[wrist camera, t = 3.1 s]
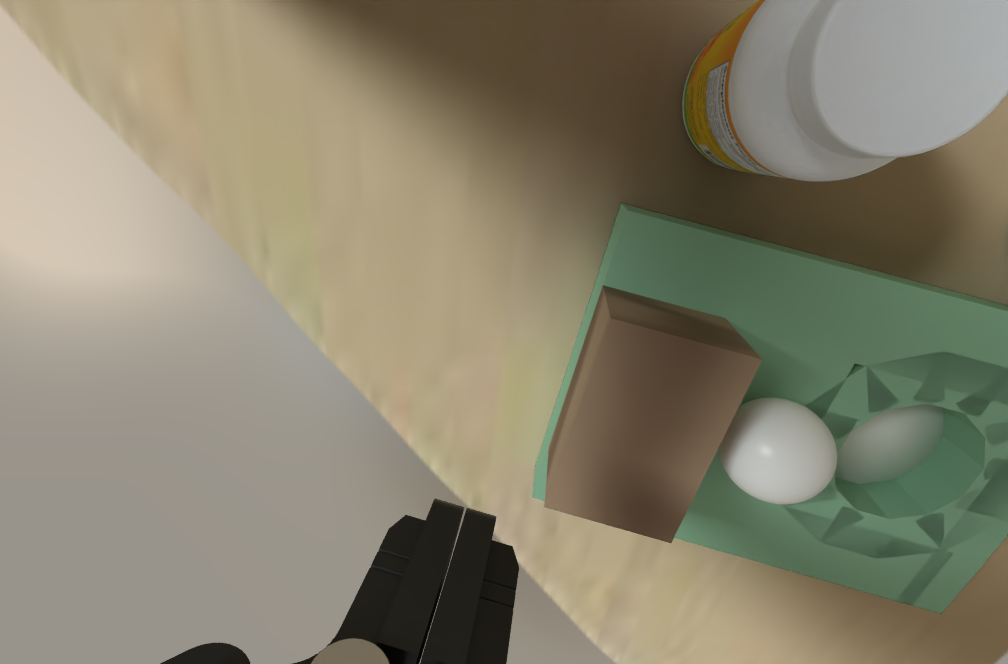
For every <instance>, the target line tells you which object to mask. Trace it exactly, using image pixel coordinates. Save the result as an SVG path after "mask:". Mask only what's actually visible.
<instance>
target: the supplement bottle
mask: <svg viewBox="0 0 1008 664" xmlns="http://www.w3.org/2000/svg"><path fill="white" fill-rule="evenodd" d="M1007 94H1008V0H759V1H758V2H757V3H755V4H754V5H753V6H751V7H750V8H749V9H747V10H746V11H745V12H744V13H742V14H741V15H740V16H738V17H737V18H736V19H734V20H733V21H732V22H731V23H729V24H728V25H727V26H725V27H724V28H723V29H722V30H721V31H719V32H718V33H717V34H716V35H715V36H714V37H713V38H712V39H711V40H710V41H709V42H708V43H707V44H706V45H705V47H704V48H703V49H702V51H701V52H700V53H699V55H698V56H697V58H696V59H695V61H694V63H693V65H692V67H691V69H690V71H689V74H688V76H687V79H686V83H685V87H684V92H683V101H682V112H683V120H684V125H685V128H686V131H687V134H688V136H689V138H690V140H691V141H692V143H693V144H694V146H695V147H696V148H697V150H698V151H699V152H700V153H701V154H702V155H703V156H704V157H706V158H707V159H708V160H710V161H711V162H713V163H715V164H717V165H719V166H722V167H724V168H727V169H730V170H735V171H740V172H746V173H753V174H760V175H768V176H774V177H781V178H787V179H792V180H799V181H810V182H812V181H819V182H824V181H836V180H843V179H848V178H852V177H856V176H859V175H862V174H865V173H868V172H871V171H873V170H875V169H877V168H880V167H882V166H884V165H886V164H888V163H889V162H891V161H893V160H895V159H896V158H898V157H907V156H912V155H917V154H921V153H924V152H928V151H931V150H933V149H936V148H938V147H941V146H943V145H945V144H948V143H949V142H951V141H953V140H955V139H957V138H959V137H960V136H962V135H964V134H965V133H966V132H968V131H969V130H971V129H972V128H973V127H975V126H976V125H977V124H979V123H980V122H981V121H982V120H983V119H984V118H986V117H987V116H988V115H989V114H990V113H991V112H992V111H993V110H994V109H995V108H996V107H997V106H998V105H999V103H1000V102H1001V101H1002V100H1003V99H1004V98H1005V96H1006V95H1007Z"/></svg>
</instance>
